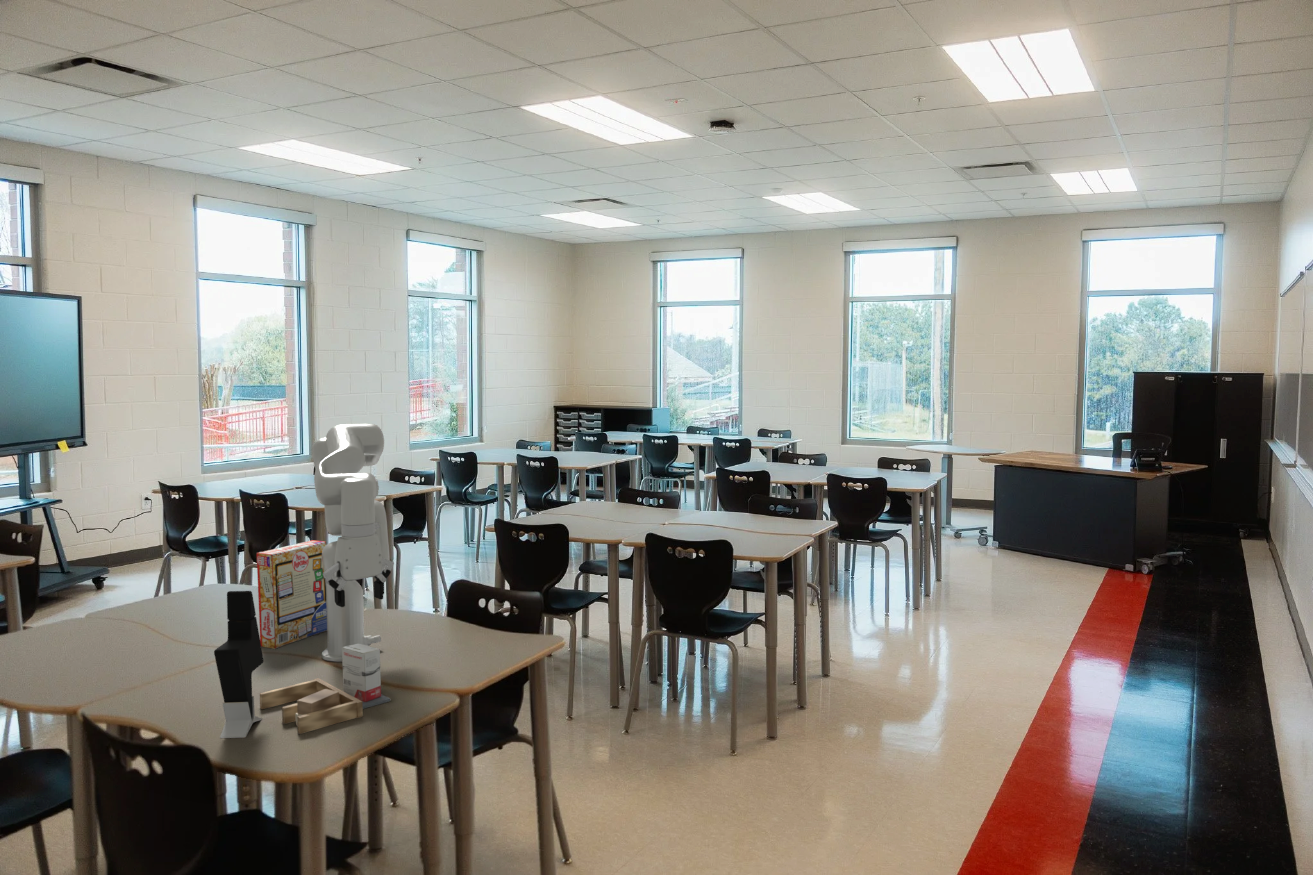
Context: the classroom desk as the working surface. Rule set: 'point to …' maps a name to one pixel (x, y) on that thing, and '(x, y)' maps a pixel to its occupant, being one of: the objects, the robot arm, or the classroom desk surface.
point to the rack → (315, 720)
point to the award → (239, 664)
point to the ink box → (361, 672)
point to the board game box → (291, 593)
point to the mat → (375, 701)
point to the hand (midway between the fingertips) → (359, 602)
